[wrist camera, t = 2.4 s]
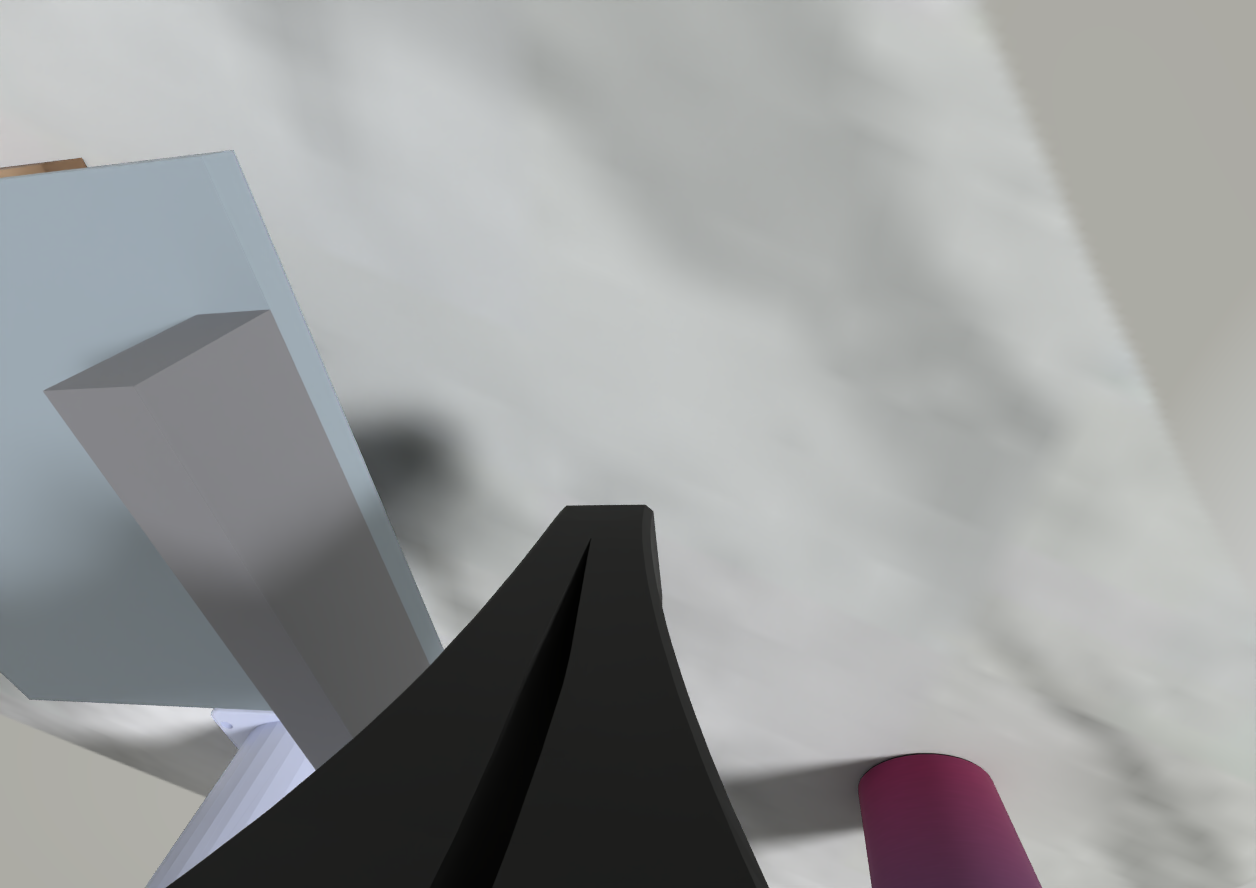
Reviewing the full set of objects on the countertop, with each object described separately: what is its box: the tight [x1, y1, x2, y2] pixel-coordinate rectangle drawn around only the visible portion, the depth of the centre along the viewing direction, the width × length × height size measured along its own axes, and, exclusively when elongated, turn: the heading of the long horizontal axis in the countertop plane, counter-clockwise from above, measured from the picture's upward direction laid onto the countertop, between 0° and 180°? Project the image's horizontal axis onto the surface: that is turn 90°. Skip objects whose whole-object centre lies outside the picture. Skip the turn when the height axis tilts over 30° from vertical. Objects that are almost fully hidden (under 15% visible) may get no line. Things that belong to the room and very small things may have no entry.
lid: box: [0, 150, 444, 770], centre depth 11 cm, size 12×12×3 cm
